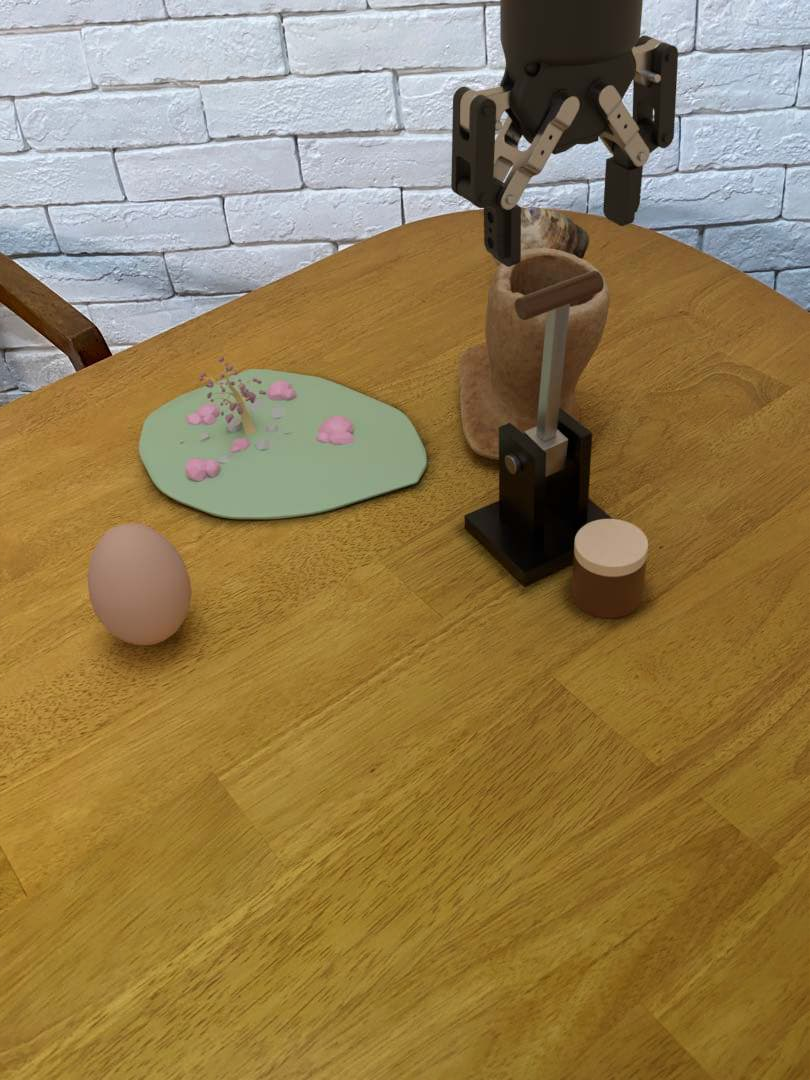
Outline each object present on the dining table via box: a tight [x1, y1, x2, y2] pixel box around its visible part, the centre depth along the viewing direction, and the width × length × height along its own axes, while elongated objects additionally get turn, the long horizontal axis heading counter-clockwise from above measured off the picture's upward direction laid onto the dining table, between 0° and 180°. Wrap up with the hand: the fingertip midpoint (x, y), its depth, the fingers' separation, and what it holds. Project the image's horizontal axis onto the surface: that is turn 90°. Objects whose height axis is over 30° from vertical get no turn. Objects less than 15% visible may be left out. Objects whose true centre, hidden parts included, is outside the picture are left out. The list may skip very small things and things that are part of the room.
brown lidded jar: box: [571, 518, 649, 619], centre depth 79 cm, size 5×5×5 cm
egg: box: [86, 522, 192, 646], centre depth 77 cm, size 7×7×10 cm
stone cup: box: [458, 248, 611, 461], centre depth 93 cm, size 15×12×15 cm
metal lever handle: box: [515, 270, 604, 477], centre depth 76 cm, size 15×6×2 cm
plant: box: [138, 356, 428, 520], centre depth 94 cm, size 25×21×9 cm
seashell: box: [493, 206, 590, 267], centre depth 113 cm, size 10×6×8 cm, turn 89°
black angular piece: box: [463, 407, 614, 588], centre depth 83 cm, size 8×9×10 cm
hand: (562, 240), depth 69 cm, fingers open, 8 cm apart
